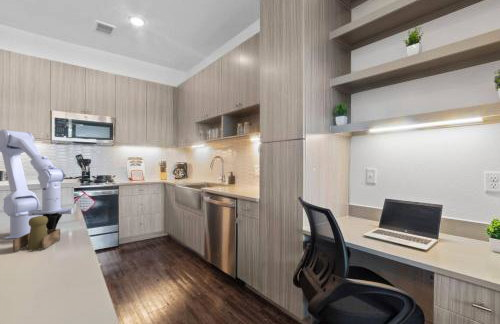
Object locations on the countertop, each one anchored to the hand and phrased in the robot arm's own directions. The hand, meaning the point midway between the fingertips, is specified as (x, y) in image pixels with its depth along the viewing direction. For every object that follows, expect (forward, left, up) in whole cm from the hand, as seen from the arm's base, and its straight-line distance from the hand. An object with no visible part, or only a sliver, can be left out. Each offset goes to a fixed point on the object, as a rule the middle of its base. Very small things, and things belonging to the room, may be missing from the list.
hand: (51, 232), depth 94 cm
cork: (+10, +1, -3) cm, 10 cm away
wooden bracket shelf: (+9, 0, -2) cm, 9 cm away
